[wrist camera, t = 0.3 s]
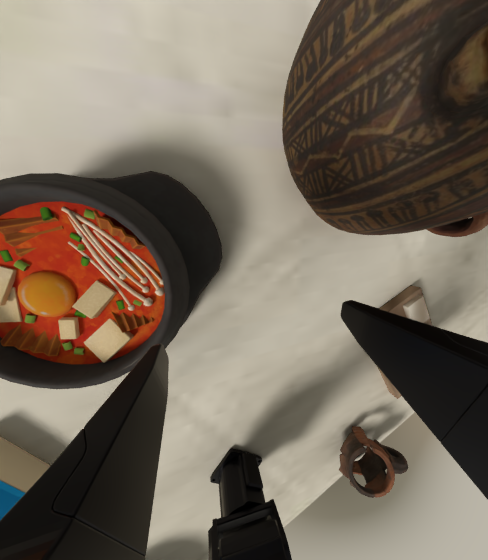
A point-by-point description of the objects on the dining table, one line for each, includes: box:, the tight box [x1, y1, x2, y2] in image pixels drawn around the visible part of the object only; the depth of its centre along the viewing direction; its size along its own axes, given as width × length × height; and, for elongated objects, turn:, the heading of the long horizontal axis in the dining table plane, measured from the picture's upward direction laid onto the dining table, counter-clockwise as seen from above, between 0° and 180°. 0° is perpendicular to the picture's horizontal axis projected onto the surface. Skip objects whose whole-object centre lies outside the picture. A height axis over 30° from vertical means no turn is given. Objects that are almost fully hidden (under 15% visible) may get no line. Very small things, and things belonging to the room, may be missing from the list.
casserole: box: [0, 171, 222, 389], centre depth 17 cm, size 25×19×8 cm
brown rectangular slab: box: [377, 286, 432, 399], centre depth 32 cm, size 11×18×4 cm, turn 33°
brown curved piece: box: [339, 426, 408, 498], centre depth 35 cm, size 12×10×8 cm
